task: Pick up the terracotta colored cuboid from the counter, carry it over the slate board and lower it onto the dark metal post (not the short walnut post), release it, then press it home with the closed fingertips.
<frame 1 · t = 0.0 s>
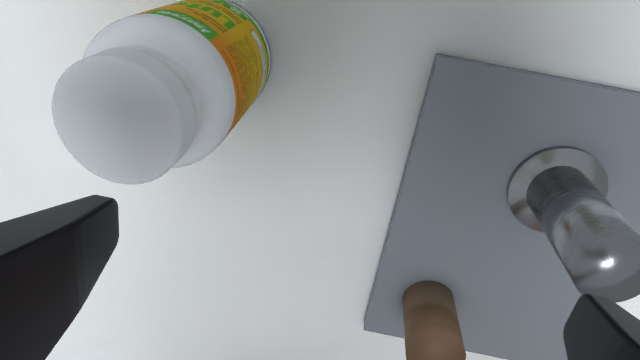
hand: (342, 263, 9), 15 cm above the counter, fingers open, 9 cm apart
board: (508, 228, 25), on the counter
walnut post: (426, 291, 27), resting on board
supplement bottle: (217, 55, 23), on the counter
marker post: (549, 181, 24), resting on board
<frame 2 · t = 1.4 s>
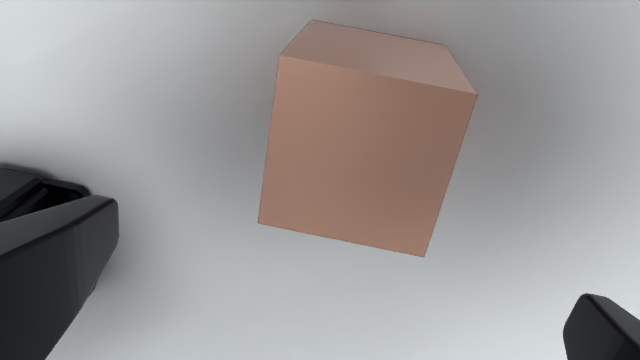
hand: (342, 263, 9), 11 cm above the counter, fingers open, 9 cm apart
terracotta colored cuboid: (364, 97, 19), on the counter
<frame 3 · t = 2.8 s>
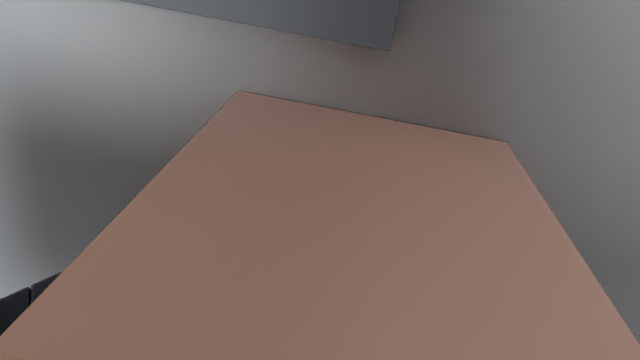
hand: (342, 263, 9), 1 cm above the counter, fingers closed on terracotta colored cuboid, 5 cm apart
terracotta colored cuboid: (346, 229, 10), on the counter, touching gripper
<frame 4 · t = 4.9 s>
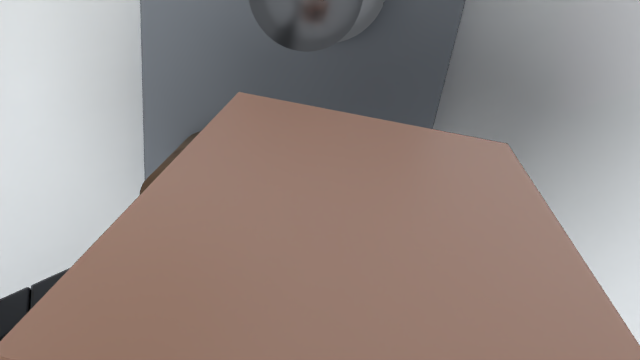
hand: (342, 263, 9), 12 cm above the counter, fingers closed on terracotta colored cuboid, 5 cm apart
board: (294, 53, 19), on the counter
terracotta colored cuboid: (346, 231, 10), point 11 cm above the counter, touching gripper
walnut post: (216, 154, 22), resting on board
when the fingers open (4 cm above the counter, at t = 7.2 s): terracotta colored cuboid drops 1 cm, resting on marker post.
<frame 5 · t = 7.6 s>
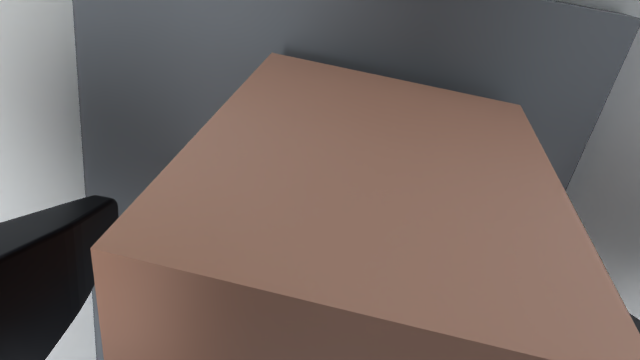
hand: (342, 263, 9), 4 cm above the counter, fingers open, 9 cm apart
board: (299, 257, 14), on the counter
terracotta colored cuboid: (367, 183, 11), point 1 cm above the counter, tilted 5°, touching marker post
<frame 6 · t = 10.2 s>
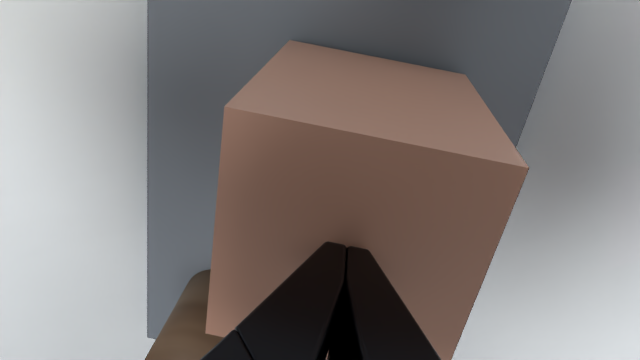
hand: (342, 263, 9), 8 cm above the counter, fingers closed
board: (315, 195, 18), on the counter
terracotta colored cuboid: (358, 139, 15), point 1 cm above the counter, touching marker post
walnut post: (225, 285, 20), resting on board
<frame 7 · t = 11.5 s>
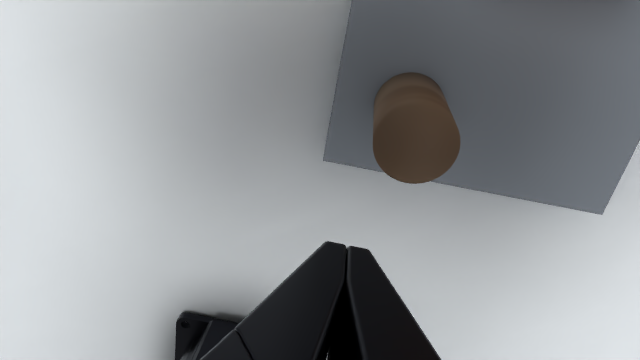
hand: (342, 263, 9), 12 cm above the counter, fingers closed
walnut post: (407, 101, 20), resting on board
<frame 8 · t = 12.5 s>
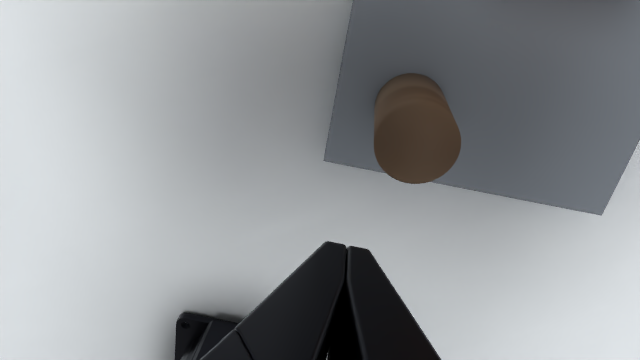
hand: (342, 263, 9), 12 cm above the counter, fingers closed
walnut post: (408, 102, 20), resting on board
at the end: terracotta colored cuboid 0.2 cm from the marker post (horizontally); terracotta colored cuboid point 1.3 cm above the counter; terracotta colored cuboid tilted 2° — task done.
